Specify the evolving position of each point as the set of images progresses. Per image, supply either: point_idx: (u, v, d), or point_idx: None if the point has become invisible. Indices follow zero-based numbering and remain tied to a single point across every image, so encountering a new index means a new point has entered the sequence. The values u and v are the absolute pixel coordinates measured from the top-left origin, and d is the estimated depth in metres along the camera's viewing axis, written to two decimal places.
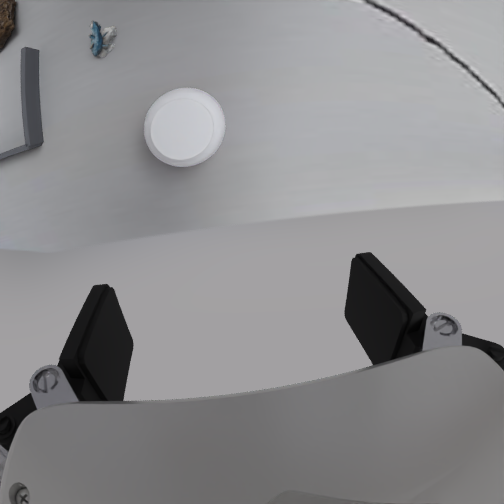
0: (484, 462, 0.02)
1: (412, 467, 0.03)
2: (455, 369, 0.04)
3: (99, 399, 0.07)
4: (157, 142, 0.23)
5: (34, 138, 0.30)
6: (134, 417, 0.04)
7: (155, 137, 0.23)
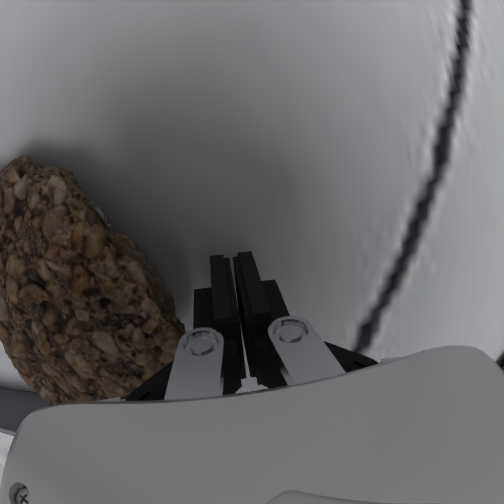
0: (484, 462, 0.02)
1: (412, 467, 0.03)
2: (455, 369, 0.04)
3: (237, 361, 0.09)
4: None
5: None
6: (134, 417, 0.04)
7: None
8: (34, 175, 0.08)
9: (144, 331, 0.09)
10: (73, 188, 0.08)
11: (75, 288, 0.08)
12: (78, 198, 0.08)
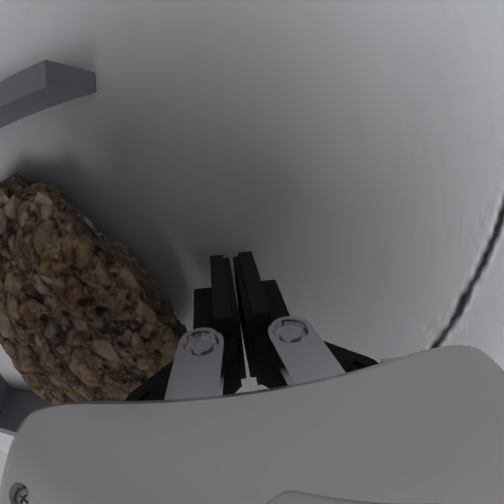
0: (484, 462, 0.02)
1: (412, 467, 0.03)
2: (455, 369, 0.04)
3: (237, 361, 0.09)
4: None
5: None
6: (134, 417, 0.04)
7: None
8: (22, 194, 0.08)
9: (141, 336, 0.09)
10: (59, 202, 0.08)
11: (70, 299, 0.08)
12: (64, 212, 0.08)
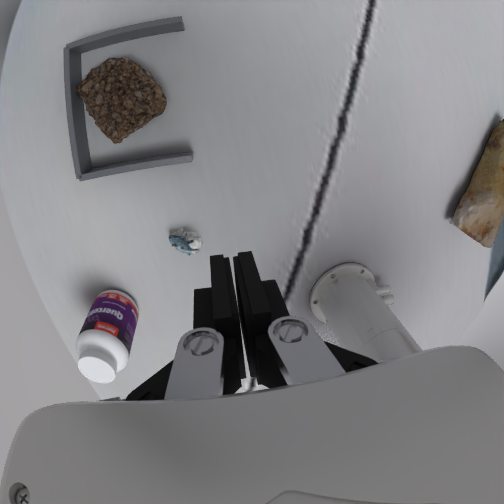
0: (484, 462, 0.02)
1: (412, 467, 0.03)
2: (455, 369, 0.04)
3: (237, 361, 0.09)
4: (84, 359, 0.32)
5: None
6: (134, 417, 0.04)
7: (86, 359, 0.32)
8: (117, 59, 0.28)
9: (150, 87, 0.29)
10: (130, 60, 0.28)
11: (131, 78, 0.28)
12: (131, 61, 0.28)
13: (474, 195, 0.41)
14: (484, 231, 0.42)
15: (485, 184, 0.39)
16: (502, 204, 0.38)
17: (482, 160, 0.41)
